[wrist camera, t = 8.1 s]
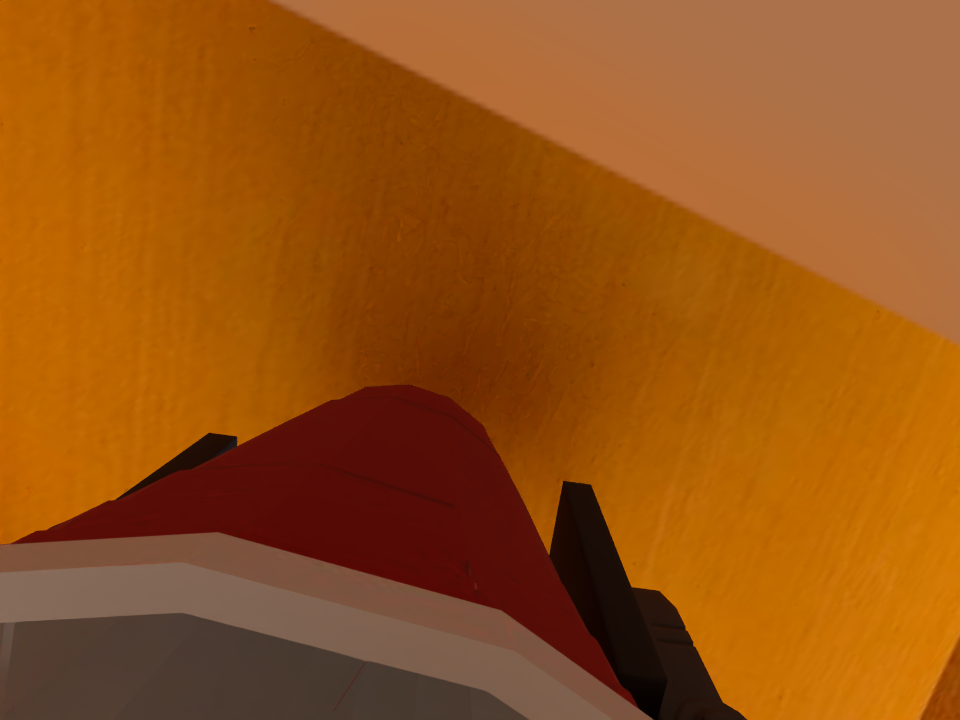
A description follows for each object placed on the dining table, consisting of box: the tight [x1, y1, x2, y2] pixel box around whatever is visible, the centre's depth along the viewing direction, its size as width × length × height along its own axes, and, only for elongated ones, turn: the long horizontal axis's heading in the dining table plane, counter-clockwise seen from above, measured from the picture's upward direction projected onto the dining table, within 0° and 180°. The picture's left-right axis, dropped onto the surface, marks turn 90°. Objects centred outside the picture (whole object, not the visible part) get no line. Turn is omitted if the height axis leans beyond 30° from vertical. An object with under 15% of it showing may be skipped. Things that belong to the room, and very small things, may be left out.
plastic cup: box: [0, 385, 653, 720], centre depth 10 cm, size 11×11×12 cm
